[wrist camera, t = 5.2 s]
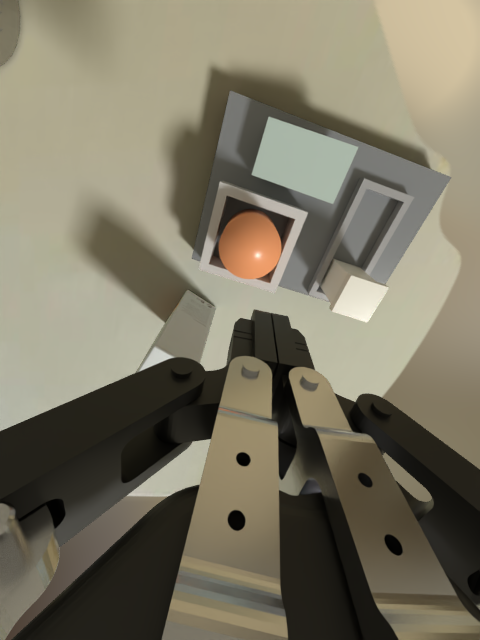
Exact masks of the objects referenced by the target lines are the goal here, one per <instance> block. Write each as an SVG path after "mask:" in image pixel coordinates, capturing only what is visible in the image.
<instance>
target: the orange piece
mask: <svg viewBox="0 0 480 640" xmlns="http://www.w3.org/2000/svg"><path fill="white" fill-rule="evenodd" d="M219 255H220V258H221V261H222V263H223V265H224V266H225V267H226V269H227V270H228V271H229V272H230V273H232V274H233V275H235V276H237V277H240V278H243V279H256V278H260V277H263V276H265V275H266V274H268V273H269V272H270V271H271V270H273V268H274V267H275V266H276V264H277V263H278V261H279V258H280V255H281V240H280V237H279V234H278V232H277V230H276V228H275V225H274V223H273V221H272V220H271V219H270V217H269V216H268V215H266V214H265V213H264V212H262V211H259V210H256V209H245V210H242V211H239V212H238V213H236V214H235V215H233V216H232V217H231V219H230V220H229V221H228V223H227V225H226V227H225V229H224V231H223V233H222V235H221V238H220V241H219Z"/></svg>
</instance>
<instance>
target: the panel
mask: <svg viewBox="0 0 480 640" xmlns="http://www.w3.org/2000/svg"><path fill="white" fill-rule="evenodd" d="M268 117H271V118H274V119H277V120H280V121H283V122H286V123H289V124H292V125H295V126H298V127H301V128H304V129H307V130H310V131H313V132H316V133H319V134H322V135H324V136H327V137H330V138H333V139H336V140H339V141H342V142H345V143H348V144H351V145H354V146H357V147H358V149H357V152H356V154H355V156H354V158H353V161H352V163H351V165H350V167H349V170H348V172H347V174H346V176H345V179H344V181H343V183H342V185H341V188H340V190H339V192H338V194H337V197H336V199H335V201H334V203H333V204H331V203H328V202H326V201H323V200H320V199H317V198H314V197H312V196H309V195H306V194H303V193H301V192H298V191H295V190H292V189H289V188H287V187H284V186H281V185H278V184H275V183H273V182H270V181H267V180H264V179H261V178H259V177H256V176H253V175H252V172H253V168H254V165H255V161H256V158H257V155H258V151H259V148H260V144H261V141H262V138H263V134H264V131H265V127H266V124H267V120H268ZM450 179H451V177H449V176H447V175H444V174H442V173H439V172H437V171H434V170H432V169H429V168H426V167H424V166H421V165H419V164H416V163H414V162H411V161H409V160H406V159H404V158H401V157H398V156H396V155H393V154H391V153H388V152H386V151H383V150H381V149H378V148H376V147H373V146H370V145H368V144H365V143H363V142H360V141H358V140H355V139H353V138H350V137H348V136H345V135H342V134H340V133H337V132H335V131H332V130H330V129H327V128H325V127H322V126H320V125H317V124H314V123H312V122H309V121H307V120H304V119H302V118H299V117H297V116H294V115H292V114H289V113H286V112H284V111H281V110H279V109H276V108H274V107H271V106H269V105H266V104H264V103H261V102H258V101H256V100H253V99H251V98H248V97H246V96H243V95H241V94H238V93H236V92H233V91H230V93H229V97H228V102H227V106H226V110H225V115H224V119H223V124H222V128H221V132H220V137H219V141H218V145H217V150H216V154H215V159H214V163H213V167H212V172H211V176H210V181H209V185H208V189H207V194H206V198H205V203H204V207H203V211H202V216H201V220H200V224H199V229H198V233H197V238H196V242H195V246H194V251H193V255H192V259H194V260H197V261H200V265H199V269H198V270H201V271H205V272H208V273H211V274H214V275H218V276H221V277H224V278H227V279H230V280H234V281H237V282H240V283H243V284H247V285H250V286H253V287H256V288H259V289H263V290H266V291H269V292H272V293H275V292H276V290H277V287H278V286H280V287H283V288H286V289H290V290H293V291H296V292H299V293H302V294H305V295H309V296H312V297H315V298H318V299H321V300H325V301H328V302H330V301H329V300H328V298H327V297H326V295H325V293H324V292H323V290H322V288H321V287H320V284H321V282H322V280H323V278H324V276H325V274H326V272H327V270H328V268H329V265H330V263H331V261H332V259H336V260H339V261H342V262H345V263H348V264H351V265H354V266H357V267H360V268H361V269H362V270H363V271H365V272H366V273H367V274H368V275H369V276H371V277H372V278H373V279H374V280H375V281H376V282H379V283H382V284H386V282H387V281H388V279H389V277H390V276H391V274H392V273H393V271H394V269H395V268H396V266H397V264H398V263H399V261H400V260H401V258H402V256H403V255H404V253H405V252H406V250H407V248H408V247H409V245H410V243H411V242H412V240H413V239H414V237H415V235H416V234H417V232H418V231H419V229H420V227H421V226H422V224H423V222H424V221H425V219H426V218H427V216H428V214H429V213H430V211H431V210H432V208H433V206H434V205H435V203H436V201H437V200H438V198H439V197H440V195H441V193H442V192H443V190H444V188H445V187H446V185H447V184H448V182H449V180H450ZM245 209H256V210H259V211H262V212H264V213H265V214H266V215H268V216H269V217H270V219H271V220H272V221H273V223H274V225H275V228H276V230H277V232H278V234H279V237H280V240H281V255H280V258H279V261H278V263H277V264H276V266H275V267H274V268H273V270H271V271H270V272H269V273H268V274H266V275H265V276H263V277H260V278H256V279H243V278H240V277H237V276H235V275H233V274H232V273H230V272H229V271H228V270H227V269H226V267H225V266H224V265H223V263H222V261H221V258H220V255H219V241H220V238H221V235H222V233H223V231H224V229H225V227H226V225H227V223H228V221H229V220H230V219H231V217H232V216H233V215H235V214H236V213H238V212H239V211H242V210H245Z"/></svg>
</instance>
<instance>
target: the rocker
mask: <svg viewBox="0 0 480 640" xmlns="http://www.w3.org/2000/svg"><path fill="white" fill-rule="evenodd" d="M357 149H358V147H357V146H354V145H351V144H348V143H345V142H342V141H339V140H336V139H333V138H330V137H327V136H324V135H322V134H319V133H316V132H313V131H310V130H307V129H304V128H301V127H298V126H295V125H292V124H289V123H286V122H283V121H280V120H277V119H274V118H271V117H268V120H267V124H266V127H265V131H264V134H263V138H262V141H261V144H260V148H259V151H258V155H257V158H256V161H255V165H254V168H253V172H252V175H253V176H256V177H259V178H261V179H264V180H267V181H270V182H273V183H275V184H278V185H281V186H284V187H287V188H289V189H292V190H295V191H298V192H301V193H303V194H306V195H309V196H312V197H314V198H317V199H320V200H323V201H326V202H328V203H331V204H333V203H334V201H335V199H336V197H337V194H338V192H339V190H340V188H341V185H342V183H343V181H344V179H345V176H346V174H347V172H348V170H349V167H350V165H351V163H352V161H353V158H354V156H355V154H356V152H357Z"/></svg>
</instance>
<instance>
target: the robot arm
mask: <svg viewBox="0 0 480 640" xmlns="http://www.w3.org/2000/svg"><path fill="white" fill-rule="evenodd" d="M19 32H20V12H19V5H18V0H0V66H1V65H3V64H4V63H5V62H6V61H7V60H8V59H9V58H10V57H11V56H12V54H13V52H14V49H15V47H16V45H17V41H18V36H19ZM207 439H211V442H210V446H209V450H208V454H207V458H206V462H205V466H204V470H203V474H202V478H201V482H200V485H196V486H192V487H188V488H185V489H183V490H180V491H178V492H176V493H174V494H172V495H170V496H168V497H167V498H165V499H164V500H163V501H161V502H160V503H158V504H157V505H156V506H155V507H153V508H152V509H151V510H150V511H149V512H148V513H147V514H146V515H145V516H143V517H142V518H141V519H140V520H139V521H138V522H137V523H136V524H135V525H134V526H133V527H132V528H131V529H130V530H129V531H128V532H126V533H125V534H124V535H123V536H122V537H121V538H120V539H119V540H118V541H117V542H116V543H115V544H113V545H112V546H111V547H110V548H109V549H108V550H107V551H106V552H105V553H104V554H103V555H102V556H101V557H100V558H98V559H97V560H96V561H95V562H94V563H93V564H92V565H91V566H90V567H89V568H88V569H87V570H86V571H85V572H83V573H82V575H80V576H79V577H78V578H77V579H76V580H75V581H74V582H73V583H72V584H71V585H70V586H68V587H67V588H66V589H65V590H64V591H63V592H62V593H61V594H60V595H59V596H58V597H57V598H56V599H55V600H53V602H51V603H50V604H49V605H48V606H47V607H46V608H45V609H44V610H43V611H42V612H41V613H40V614H38V615H37V617H35V618H34V619H33V620H32V621H31V622H30V623H29V624H28V625H27V626H26V627H25V628H23V630H21V631H20V632H19V633H18V634H17V635H16V636H15V637H14V638H13V639H12V640H480V470H479V469H478V468H477V467H475V466H474V465H473V464H472V463H470V462H469V461H467V460H466V459H465V458H464V457H462V456H461V455H459V454H458V453H457V452H456V451H454V450H453V449H451V448H450V447H449V446H448V445H446V444H445V443H443V442H442V441H441V440H439V439H438V438H437V437H435V436H434V435H433V434H431V433H430V432H429V431H427V430H426V429H424V428H423V427H422V426H421V425H419V424H418V423H417V422H415V421H414V420H413V419H411V418H410V417H408V416H407V415H406V414H405V413H403V412H402V411H401V410H399V409H398V408H397V407H395V406H394V405H393V404H391V403H390V402H388V401H387V400H385V399H383V398H381V397H379V396H376V395H373V394H362V395H360V396H359V397H358V398H357V400H356V402H354V401H351V400H349V399H346V398H344V397H342V396H339V395H337V394H335V393H334V392H333V389H332V387H331V385H330V383H329V381H328V380H327V379H326V378H325V377H324V376H323V375H322V374H320V373H319V372H317V371H315V368H314V365H313V362H312V359H311V356H310V353H309V350H308V347H307V344H306V341H305V337H304V336H303V335H302V334H301V333H300V332H299V331H298V330H297V329H292V328H291V326H290V322H289V318H288V316H283V315H278V314H273V313H268V312H263V311H259V310H254V311H253V314H252V317H251V320H248V319H243V318H240V319H239V320H238V321H237V322H235V325H234V329H233V333H232V338H231V342H230V346H229V351H228V357H227V365H226V367H224V368H222V369H219V370H215V371H205V370H204V368H203V366H202V365H201V364H200V363H198V362H197V361H195V360H193V359H190V358H185V357H175V358H170V359H167V360H165V361H163V362H160V363H158V364H156V365H153V366H151V367H149V368H146V369H144V370H142V371H139V372H137V373H135V374H132V375H130V376H128V377H125V378H123V379H121V380H118V381H116V382H114V383H111V384H109V385H107V386H104V387H102V388H100V389H97V390H95V391H93V392H91V393H88V394H86V395H84V396H81V397H79V398H77V399H74V400H72V401H70V402H67V403H65V404H63V405H60V406H58V407H56V408H53V409H51V410H49V411H46V412H44V413H42V414H39V415H37V416H35V417H32V418H30V419H28V420H25V421H23V422H21V423H18V424H16V425H14V426H11V427H9V428H7V429H4V430H2V431H0V640H5V639H6V637H7V635H8V634H9V632H10V631H11V629H12V628H13V626H14V625H15V623H16V622H17V621H18V619H19V618H20V617H21V616H22V615H23V613H24V612H25V611H26V610H27V609H28V608H29V607H30V606H31V605H32V604H33V603H34V602H35V601H36V600H37V599H38V598H39V597H40V596H41V594H42V593H43V592H44V591H45V589H46V587H47V586H48V584H49V583H50V581H51V579H52V577H53V575H54V573H55V571H56V568H57V565H58V561H59V552H60V550H59V547H60V546H62V545H63V544H65V543H66V542H67V541H68V540H70V539H71V538H72V537H74V536H75V535H76V534H77V533H79V532H80V531H81V530H83V529H84V528H85V527H86V526H88V525H89V524H90V523H92V522H93V521H94V520H95V519H96V518H98V517H99V516H101V515H102V514H103V513H105V512H106V511H107V510H108V509H110V508H111V507H112V506H114V505H115V504H116V503H117V502H119V501H120V500H121V499H123V498H124V497H125V496H127V495H128V494H129V493H130V492H132V491H133V490H134V489H136V488H137V487H138V486H139V485H141V484H142V483H143V482H145V481H146V480H147V479H148V478H150V477H151V476H152V475H154V474H155V473H156V472H158V471H159V470H160V469H161V468H163V467H164V466H165V465H167V464H168V463H169V462H170V461H172V460H173V459H174V458H176V457H177V456H178V455H179V454H181V453H182V452H183V451H185V450H186V449H187V448H188V447H189V446H190V445H191V443H192V441H199V440H207ZM385 452H386V453H387V454H388V455H389V456H390V457H391V458H392V459H393V460H395V461H396V462H397V463H398V464H399V465H400V466H401V467H403V468H404V469H405V470H406V471H407V472H408V473H409V474H410V475H411V476H413V477H414V478H415V479H416V480H417V481H418V482H420V484H422V485H423V486H424V487H425V488H426V489H427V490H428V491H429V493H430V494H431V496H432V499H431V501H429V502H422V501H419V500H417V499H416V498H414V497H413V496H412V495H411V494H410V493H409V492H407V491H406V490H405V489H404V488H403V487H402V486H401V485H400V484H399V483H398V482H397V481H396V480H395V479H394V477H393V475H392V473H391V471H390V469H389V467H388V465H387V464H386V462H385V460H384V458H383V456H382V455H383V454H384V453H385Z"/></svg>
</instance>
